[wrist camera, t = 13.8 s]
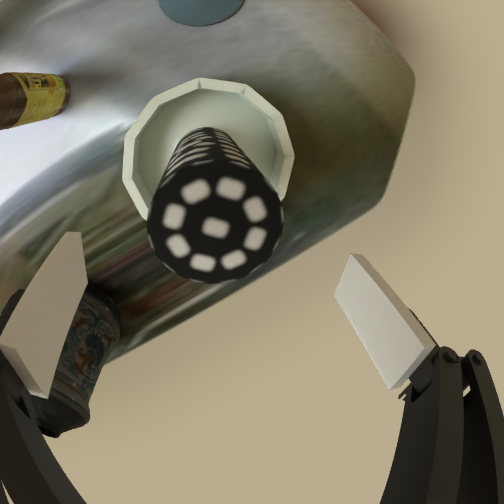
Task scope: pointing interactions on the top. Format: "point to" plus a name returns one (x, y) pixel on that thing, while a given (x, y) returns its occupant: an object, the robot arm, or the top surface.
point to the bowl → (197, 116)
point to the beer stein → (78, 365)
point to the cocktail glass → (199, 10)
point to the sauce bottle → (31, 97)
